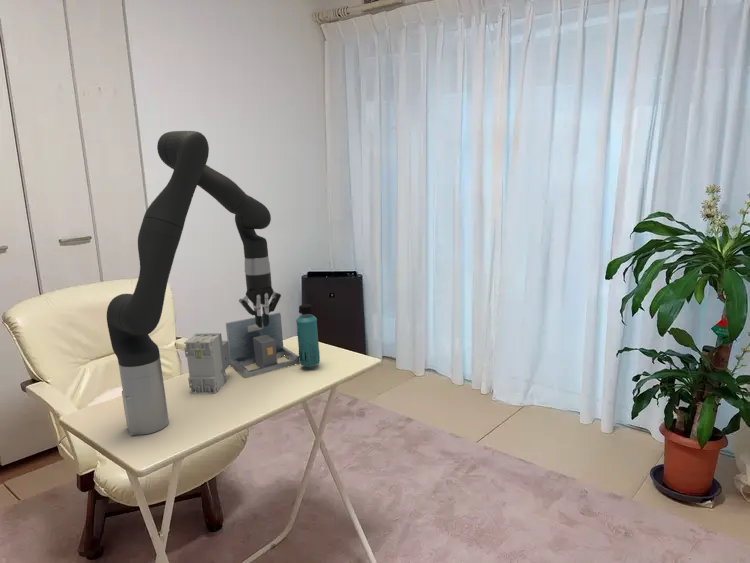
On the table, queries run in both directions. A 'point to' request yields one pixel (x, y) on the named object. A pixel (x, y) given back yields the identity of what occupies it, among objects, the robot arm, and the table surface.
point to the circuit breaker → (207, 362)
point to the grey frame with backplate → (243, 344)
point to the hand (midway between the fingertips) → (262, 326)
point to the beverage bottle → (307, 337)
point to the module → (265, 351)
